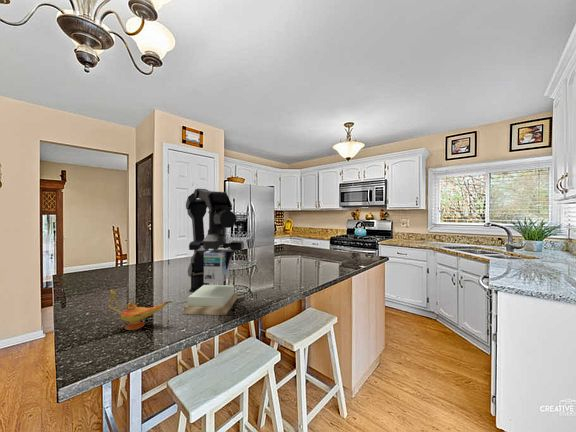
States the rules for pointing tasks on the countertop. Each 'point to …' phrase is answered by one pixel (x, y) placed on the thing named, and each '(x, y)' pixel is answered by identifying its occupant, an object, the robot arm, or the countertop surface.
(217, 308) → the oak base block
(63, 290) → the countertop surface
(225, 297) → the sage top block
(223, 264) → the light bulb box
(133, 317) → the magic lamp
